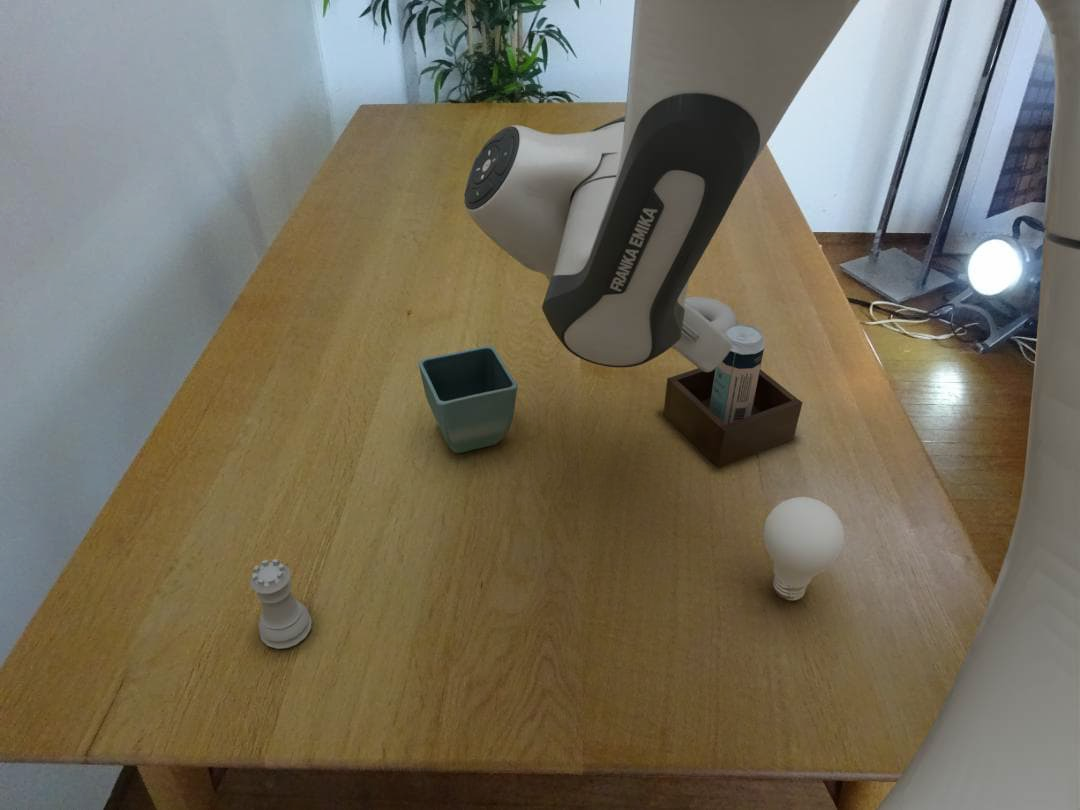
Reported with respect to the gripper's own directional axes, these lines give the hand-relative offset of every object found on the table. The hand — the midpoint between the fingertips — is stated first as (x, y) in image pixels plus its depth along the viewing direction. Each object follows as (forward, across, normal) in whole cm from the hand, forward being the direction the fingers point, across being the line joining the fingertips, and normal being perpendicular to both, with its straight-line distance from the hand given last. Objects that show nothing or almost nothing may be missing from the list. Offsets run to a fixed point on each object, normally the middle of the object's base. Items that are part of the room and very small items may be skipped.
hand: (687, 331), depth 81 cm
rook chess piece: (-20, -5, +42) cm, 47 cm away
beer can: (+16, 0, +5) cm, 17 cm away
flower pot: (-3, +12, +25) cm, 28 cm away
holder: (+16, 0, +5) cm, 17 cm away
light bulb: (+10, -22, +13) cm, 27 cm away
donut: (+23, +18, -1) cm, 29 cm away
